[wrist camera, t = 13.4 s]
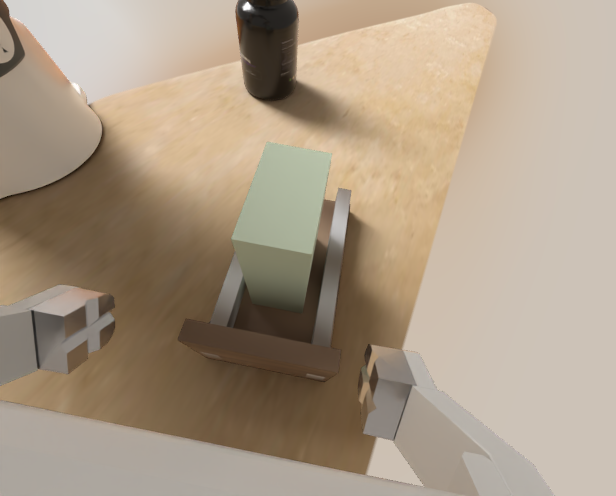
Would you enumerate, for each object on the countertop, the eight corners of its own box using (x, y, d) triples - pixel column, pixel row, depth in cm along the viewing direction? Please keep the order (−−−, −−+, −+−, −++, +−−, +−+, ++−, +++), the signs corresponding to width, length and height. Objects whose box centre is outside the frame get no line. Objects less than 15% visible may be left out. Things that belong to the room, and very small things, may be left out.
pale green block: (302, 313, 23) (311, 254, 14) (252, 303, 23) (231, 238, 14) (316, 238, 26) (332, 153, 17) (273, 230, 26) (267, 141, 17)
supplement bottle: (234, 91, 37) (214, -33, 27) (260, 66, 40) (251, -54, 30) (281, 109, 36) (279, -14, 26) (304, 81, 39) (311, -38, 29)
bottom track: (324, 381, 21) (338, 372, 15) (206, 357, 21) (177, 339, 16) (348, 210, 29) (363, 162, 23) (261, 194, 29) (255, 143, 24)
